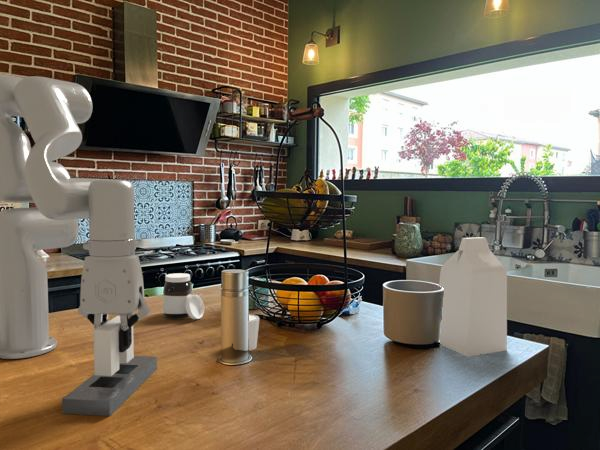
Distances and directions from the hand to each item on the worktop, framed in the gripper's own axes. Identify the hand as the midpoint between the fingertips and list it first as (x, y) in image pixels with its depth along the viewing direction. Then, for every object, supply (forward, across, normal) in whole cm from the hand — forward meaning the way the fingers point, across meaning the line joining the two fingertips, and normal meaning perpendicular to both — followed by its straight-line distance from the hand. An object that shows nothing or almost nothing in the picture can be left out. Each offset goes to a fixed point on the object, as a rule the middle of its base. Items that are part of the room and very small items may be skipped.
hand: (114, 348), depth 86 cm
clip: (+3, 0, 0) cm, 3 cm away
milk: (+8, +72, +33) cm, 79 cm away
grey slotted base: (+8, 0, 0) cm, 8 cm away
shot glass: (+8, +19, +25) cm, 32 cm away
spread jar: (+8, -3, +48) cm, 49 cm away
